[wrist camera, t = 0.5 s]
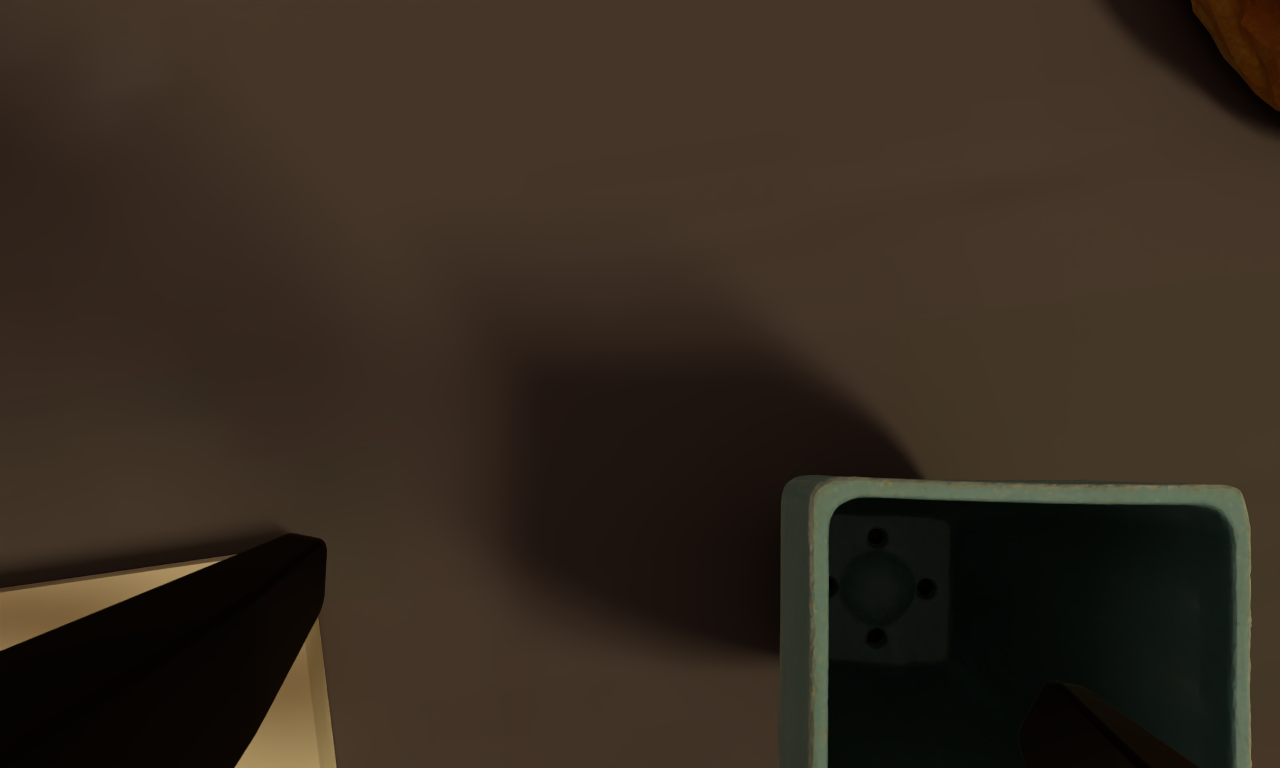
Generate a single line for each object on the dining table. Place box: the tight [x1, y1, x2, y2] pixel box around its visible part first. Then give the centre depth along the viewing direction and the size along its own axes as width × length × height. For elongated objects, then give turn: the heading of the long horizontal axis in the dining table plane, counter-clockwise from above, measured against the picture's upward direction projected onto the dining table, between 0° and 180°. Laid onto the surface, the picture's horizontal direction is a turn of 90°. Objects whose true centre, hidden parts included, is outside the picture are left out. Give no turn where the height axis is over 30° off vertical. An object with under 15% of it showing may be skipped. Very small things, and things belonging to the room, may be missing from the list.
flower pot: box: [778, 475, 1252, 768], centre depth 17 cm, size 9×9×9 cm
